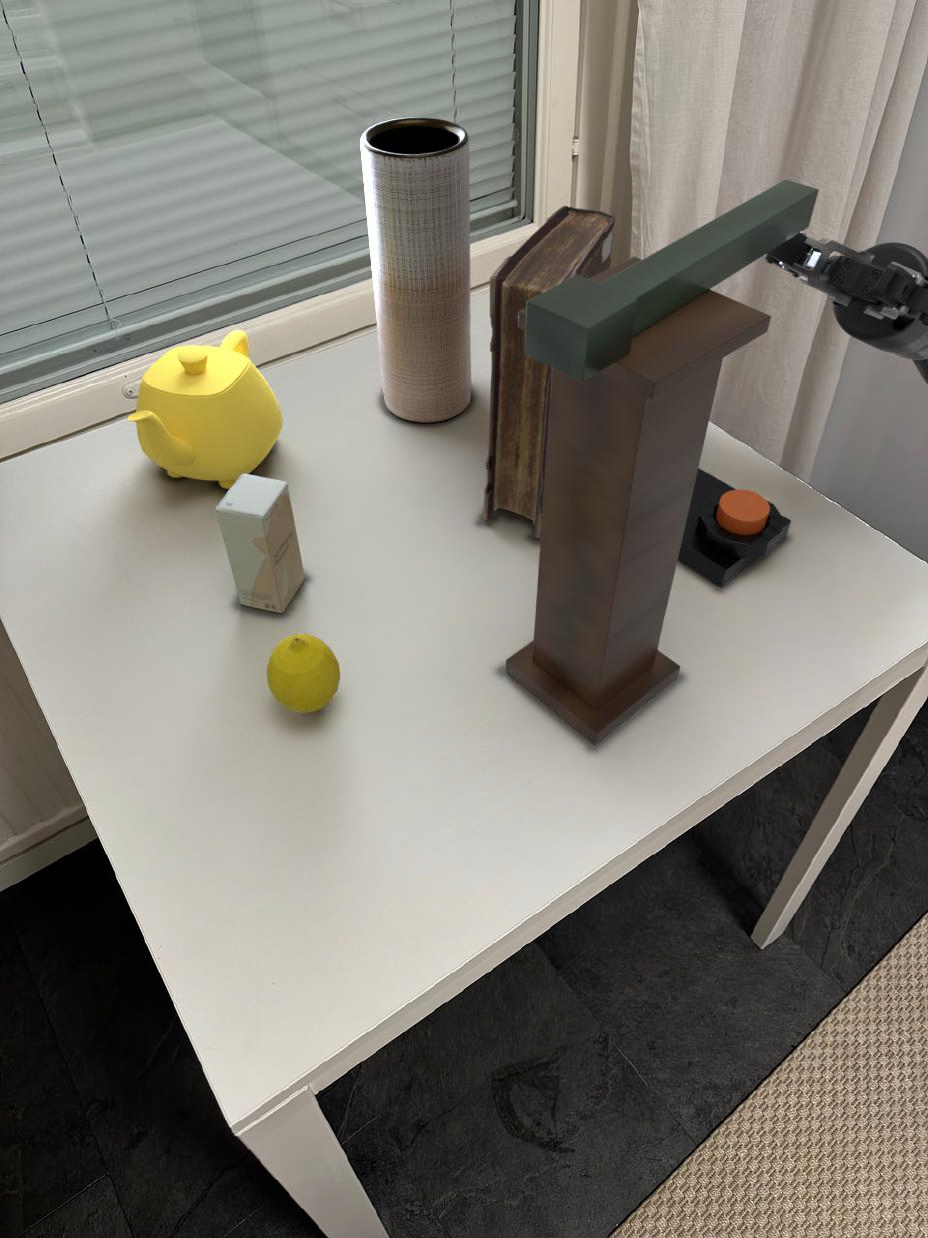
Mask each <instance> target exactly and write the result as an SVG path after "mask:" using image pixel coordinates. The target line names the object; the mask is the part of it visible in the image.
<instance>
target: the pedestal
mask: <svg viewBox="0 0 928 1238" xmlns="http://www.w3.org/2000/svg"><path fill="white" fill-rule="evenodd" d="M641 260H642V259H641V258H639V257H637V256H634V257H631V258H629V259H626V260H625V261H623V262H620V263H618V264H617V265H614V266H612V267H609V269H608V270H606V271H604V272H602V273H599V274H597V275H595V276H593V277H591V278H589V280H591V281H594V282H596V283H599V284H600V283H602V282H604V281H605V280H607V279H609V278H611V277H613V276H614V275H616V274H618V273H620V272H622V271H623V270H625V269H627V268H629V267H630V266H632V265H634V264H636V263H638V262H639V261H641ZM526 309H527V308H525V309H523V310H521V311H519V314H518V327H519V328H520V329H522V330H524V331H526ZM771 318H772V316H771V315H770V314H767V313H765V312H762V311H761V310H758V309H755V308H754V307H751V306H749V305H746V304H744V303H742V302H739V301H737V300H735V299H733V298H731V297H728V296H726V295H724V294H722V293H719V292H717V291H714V290H712V289H709V290H708V291H706V292H704V293H703V294H701V295H700V296H698V297H696V298H695V299H693V300H692V301H690V302H688V303H687V304H685V305H684V306H682V307H680V308H679V309H677V310H676V311H674V312H672V313H671V314H669V315H668V316H666V317H665V318H663V319H661V320H660V321H658V322H657V323H655V324H653V325H652V326H650V327H649V328H647V329H645V330H644V331H642V332H641V333H639V334H637V335H636V336H634V337H633V338H632V344H631V351H630V353H628V354H627V355H625V356H624V357H622V358H621V359H619V360H617V361H616V362H614V363H613V364H611V365H610V366H608V367H606V368H605V369H603V370H602V371H600V372H599V373H597V374H595V375H594V376H592V377H591V378H589V379H588V380H586V381H584V382H581V381H579V380H577V379H575V378H573V377H571V376H569V375H567V374H565V373H562V372H560V371H558V370H556V369H554V368H552V381H551V395H550V410H549V424H548V439H547V453H546V468H545V482H544V497H543V511H542V526H541V536H540V540H539V542H540V543H539V555H538V569H537V585H536V602H535V615H534V627H533V628H534V629H533V640H532V641H530V642H529V643H528V644H526V645H525V646H524V647H522V648H521V649H519V650H517V652H515V653H513V654H512V655H511V656H509V657H508V658H506V659H505V673H507V674H508V675H509V676H511V677H512V678H513V679H514V680H515V681H516V682H518V683H519V684H520V685H521V686H523V687H524V688H525V689H526V690H527V691H528V692H529V693H531V694H532V695H533V696H534V697H536V698H537V699H538V700H539V701H540V702H542V703H543V704H544V705H545V706H547V707H548V708H549V709H550V710H552V711H553V713H555V714H556V715H557V716H559V717H560V718H561V719H562V720H563V721H565V722H566V723H568V725H570V726H571V727H572V728H573V729H574V730H575V731H576V732H578V733H579V734H580V735H582V736H583V738H584V739H586V740H587V741H589V742H590V743H591V744H592V745H593V746H596V745H597V744H599V743H600V742H601V741H602V740H603V739H604V738H605V737H607V736H608V735H610V734H611V733H612V732H613V731H614V730H616V729H617V728H618V727H619V726H621V725H622V724H623V723H624V722H626V720H628V719H629V718H630V717H631V716H633V715H634V714H635V713H636V712H637V711H639V710H640V709H641V708H643V707H644V706H645V705H646V704H647V703H648V702H650V701H651V700H652V699H653V698H655V697H656V696H657V695H658V694H660V693H661V692H662V691H663V690H664V689H666V688H667V687H668V686H670V685H671V684H672V683H673V682H674V681H676V680H677V679H678V677H679V673H680V669H681V666H680V665H679V664H678V663H676V662H675V661H674V660H673V659H671V658H670V657H668V656H667V655H665V654H664V653H662V652H661V651H660V650H658V649H659V645H660V640H661V635H662V631H663V627H664V623H665V617H666V614H667V609H668V605H669V600H670V595H671V591H672V587H673V582H674V578H675V572H676V569H677V564H678V556H679V551H680V547H681V543H682V538H683V534H684V529H685V525H686V520H687V516H688V512H689V507H690V503H691V498H692V494H693V489H694V485H695V480H696V476H697V472H698V468H700V467H699V466H700V463H701V459H702V458H701V457H702V454H703V449H704V444H705V440H706V436H707V433H708V432H707V431H708V427H709V422H710V417H711V415H712V414H711V413H712V409H713V405H714V400H715V396H716V391H717V388H718V382H719V378H720V374H721V369H722V366H723V365H722V364H723V362H724V361H723V360H724V358H725V357H727V356H728V355H729V356H730V354H732V353H734V352H736V351H737V350H739V349H741V348H742V347H744V346H746V345H748V344H750V343H751V342H753V341H754V340H756V339H758V338H759V337H761V336H763V335H764V334H766V333H768V331H769V326H770V322H771Z"/></svg>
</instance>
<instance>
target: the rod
mask: <svg viewBox="0 0 928 1238" xmlns="http://www.w3.org/2000/svg"><path fill="white" fill-rule="evenodd" d="M819 192H820V191H819V188H816V187H812V186H809V185H805V184H803V183H799V182H795V181H792V180H790V179H789V180H788V179H783V180H782V181H780V182H778V183H777V184H775V185H773V186H771V187H769V188H767V189H766V190H764V191H762V192H760V193H759V194H757V195H755V196H753V197H751V198H749V199H747V200H746V201H744V202H742V203H741V204H739V205H737V206H735V207H733V208H732V209H730V210H728V211H727V212H725V213H723V214H720V215H719V216H717V217H716V218H714V219H712V220H711V221H709V222H707V223H705V224H703V225H702V226H700V227H698V228H696V229H694V230H693V231H691V232H689V233H687V234H686V235H684V236H682V237H680V238H679V239H677V240H675V241H673V242H671V243H670V244H668V245H666V246H664V247H662V248H661V249H659V250H657V251H656V252H654V253H652V254H650V255H648V256H646V257H644V258H643V259H641V261H639V262H638V263H636V264H634V265H632V266H630V267H629V268H627V269H625V270H623V271H622V272H620V273H618V274H616V275H614V276H613V277H611V278H609V279H607V280H605V281H604V282H602V283H600V284H599V283H596V282H594V281H591V280H589V279H587V278H584V277H582V276H579V275H575V276H573V277H571V278H569V279H567V280H565V281H564V282H562V283H560V284H558V285H556V286H554V287H553V288H551V289H549V290H547V291H545V292H543V293H542V294H540V295H538V296H536V297H534V298H532V299H530V300H529V301H527V309H526V332H525V355H527V356H529V357H531V358H534V359H536V360H538V361H540V362H542V363H544V364H546V365H548V366H550V367H552V368H554V369H556V370H558V371H560V372H562V373H565V374H567V375H569V376H571V377H573V378H575V379H577V380H579V381H581V382H584V381H586V380H588V379H589V378H591V377H592V376H594V375H595V374H597V373H599V372H600V371H602V370H603V369H605V368H606V367H608V366H610V365H611V364H613V363H614V362H616V361H617V360H619V359H621V358H622V357H624V356H625V355H627V354H628V353H630V351H631V344H632V338H633V337H634V336H636V335H637V334H639V333H641V332H642V331H644V330H645V329H647V328H649V327H650V326H652V325H653V324H655V323H657V322H658V321H660V320H661V319H663V318H665V317H666V316H668V315H669V314H671V313H672V312H674V311H676V310H677V309H679V308H680V307H682V306H684V305H685V304H687V303H688V302H690V301H692V300H693V299H695V298H696V297H698V296H700V295H701V294H703V293H704V292H706V291H708V290H709V289H710V290H712V289H713V288H714V287H715V286H717V285H719V284H720V283H722V282H724V281H725V280H727V279H728V278H730V277H732V276H733V275H735V274H736V273H738V272H740V271H741V270H743V269H744V268H746V267H748V266H749V265H751V264H753V263H754V262H756V261H757V260H758V259H760V258H763V256H764V255H765V254H767V253H768V252H770V251H771V250H773V249H775V248H776V247H778V246H779V245H781V244H783V243H784V242H786V241H787V240H789V239H791V238H792V237H794V236H795V235H797V234H799V233H800V232H804V231H805V230H807V229H809V227H810V224H811V220H812V217H813V213H814V209H815V206H816V203H817V202H816V201H817V198H818V194H819Z"/></svg>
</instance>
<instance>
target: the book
mask: <svg viewBox="0 0 928 1238" xmlns="http://www.w3.org/2000/svg"><path fill="white" fill-rule="evenodd" d="M615 223H616V216H615V214H609V213H607V212H605V211H602V210H596V209H589V208H580V207H579V208H577V207H573V206H567V205H562V206H561V207H560V208H558V209H557V210H556V211H555V212H553V213H552V214H551V215H550V216H549V217H547V218H546V219H545V222H544V223H543V224H542V225H541V226H540V227H539V228H538V229H537V230H536V231H535V232H533V234H532V235H531V236H529V237H528V239H526V241H525V242H524V243H522V244H521V246H520V247H519V248H518V249H517V250H516V251H515V252H514V253H513V254H512V255H509V256H508V257H506V258H505V259H504V260H502V262H501V263H500V264H499V265H498V267H497V268H496V269H495V270H494V271H493V273H492V274H491V275H490V276H489V318H490V326H491V339H490V342H489V352H491V372H490V393H489V396H490V397H489V398H490V399H489V421H488V422H489V424H488V448H487V458H486V462H485V463H484V464H485V470H486V484H485V487H484V492H483V510H482V512H483V513H482V518H483V520H484V521H488V520H489V519H490V518H491V516H492V515H493V514H494V512H495V511H497V510H498V509H501V510H507V511H509V512H513V513H515V514H519V515H521V516H524V518H525V517H526V518H527V519H528V520H529V519H530V520H531V521H532V522H533V523H532V524H533V526H534V530H533V537H534V538H535V539H541V526H542V511H543V497H544V482H545V468H546V453H547V439H548V424H549V410H550V395H551V381H552V367H550V366H548V365H546V364H544V363H542V362H540V361H538V360H536V359H534V358H531V357H529V356H527V355H525V332H526V331H524V330H522V329H520V328H519V327H518V314H519V311H521V310H523V309H525V308H527V301H529V300H530V299H532V298H534V297H536V296H538V295H540V294H542V293H543V292H545V291H547V290H549V289H551V288H553V287H554V286H556V285H558V284H560V283H562V282H564V281H565V280H567V279H569V278H571V277H573V276H575V275H579V276H582V277H584V278H587V279H589V278H591V277H593V276H595V275H597V274H599V273H602V272H604V271H606V270H608V269H610V268H611V265H612V261H611V253H612V246H613V244H612V243H613V237H614V232H615Z"/></svg>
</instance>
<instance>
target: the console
mask: <svg viewBox="0 0 928 1238" xmlns="http://www.w3.org/2000/svg"><path fill="white" fill-rule="evenodd" d="M732 490H738V489H737V488H735V487H733V486H731V485H730V484H728V483H726V482H724V481H722V480H721V479H719V478H718V477H716V476H715V475H712V474H710V473H709V472H707V471H705V470H704V469H702V468H700V467H698V472H697V476H696V480H695V485H694V489H693V494H692V498H691V503H690V507H689V512H688V516H687V520H686V525H685V529H684V534H683V538H682V543H681V547H680V551H679V556H678V560H677V562H680V563H681V564H683V565H685V566H686V567H688V568H689V569H691V570H692V571H694V572H695V573H697V574H698V575H700V576H701V577H703V578H705V579H706V580H708V581H709V582H711V583H712V584H714V585H715V586H717V587H718V588H723V587H724V586H725V585H727V584H728V583H729V582H730V581H732V580H733V579H734V578H736V577H737V576H739V575H740V574H741V573H742V572H744V571H745V570H746V569H747V568H749V567H750V566H751V565H753V564H754V563H755V562H756V561H758V560H759V559H760V558H762V557H765V556H766V555H767V554H769V553H770V552H771V551H772V550H774V549H775V548H776V547H777V546H778V545H779V544H780V543H781V542H783V541H784V540H785V539H786V538H787V536H788V532H789V530H790V526H791V524H792V520H791V519H790V518H788V517H786V516H784V515H782V513H781V512H780V511H779V509H778V508H777V506H776V505H775V504H774V503H773V502H771V501H769V500H767V502H768V503H769V506H770V511H769V514H768V518H767V521H766V524H765V527H764V528H763V530H762V531H760V532H759V533H757V534H752V535H741V534H736V533H731V532H729V531H727V530H726V529H724V528H722V527H721V526H720V525H719V524H718V522H717V520H716V513H717V509H718V505H719V501H720V498H721V497H722V496H723V495H724V494H725V493H726V492H729V491H732Z"/></svg>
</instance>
